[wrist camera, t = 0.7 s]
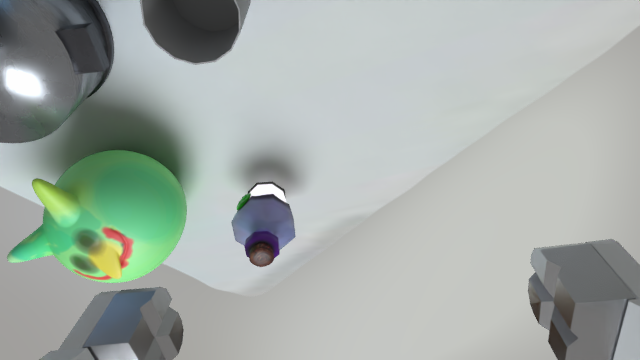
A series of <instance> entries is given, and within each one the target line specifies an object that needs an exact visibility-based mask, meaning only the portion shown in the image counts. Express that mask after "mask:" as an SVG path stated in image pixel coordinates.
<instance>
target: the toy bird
mask: <svg viewBox="0 0 640 360" xmlns="http://www.w3.org/2000/svg"><path fill="white" fill-rule="evenodd" d="M32 186H33V189H34V191H35V193H36V194H37V196H38V197H39V199H40V200H41V202H42V203H43V204H44V206H45V209H44V214H43V224H42V225H41V226H40V227H39V228H38V229H37V230H36V231H34V232H33V233H32V234H30V235H29V236H28V237H27V238H25V239H24V240H23V241H22V242H20V243H19V244H18V245H17V246H16V247H14V248H13V250H11V251H10V253H9V254H8V256H7V259H8V261H9V262H11V263H17V262H23V261H27V260H32V259H36V258H40V257H44V256H49V255H54V256H55V257H56V258H57V259H58V260H59V261H60V262H61V263H62V264H63V265H64V266H65V267H66V268H68V269H69V270H71V271H72V272H74V273H75V274H77V275H79V276H82V277H84V278H87V279H90V280H94V281H99V282H107V283H118V282H125V281H130V280H134V279H136V278H139V277H141V276H144V275H146V274H147V273H149V272H150V271H152V270H154V269H155V268H156V267H158V266H159V265H160V264H161V263H162V262H163V261H164V260H165V259H166V258H167V257H168V256H169V255H170V254H171V252H172V251H173V250H174V248H175V246H176V245H177V243H178V241H179V239H180V237H181V235H182V232H183V229H184V226H185V222H186V214H187V206H186V199H185V195H184V192H183V189H182V187H181V185H180V183H179V182H178V180H177V179H176V178H175V176H174V175H173V174H172V173H171V172H170V171H169V170H168V169H167V168H166V167H165V166H164V165H162V164H161V163H159V162H158V161H156V160H155V159H153V158H151V157H148V156H146V155H143V154H140V153H137V152H132V151H126V150H109V151H102V152H98V153H95V154H92V155H89V156H87V157H85V158H83V159H81V160H80V161H78V162H76V163H75V164H74V165H72V166H71V167H70V168H69V169H68V170H67V171H66V172H65V173H64V174H63V175H62V176H61V177H60V178H59V180H58V181H57V182H56V184H55V185H53V184H51V183H49V182H47V181H44V180H42V179H34V180H33V181H32Z"/></svg>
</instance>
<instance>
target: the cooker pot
mask: <svg viewBox="0 0 640 360" xmlns="http://www.w3.org/2000/svg"><path fill="white" fill-rule="evenodd" d="M113 59H114V43H113V38H112V33H111V30H110V27H109V24H108V21H107V19H106V17H105V15H104V13H103V11H102V9H101V8H100V6H99V4H98V2H97V1H96V0H0V142H1V143H24V142H30V141H34V140H38V139H41V138H43V137H45V136H47V135H49V134H51V133H52V132H54V131H55V130H57V129H58V128H59V127H60V126H61V125H62V123H63V122H64V121H65V120H66V119H67V118H68V117H69V116H70V115H71V114H72V113H73V112H74V111H75V109H76V108H77V107H78V106H79V105H80V104H81V103H82V102H83V101H84V100H85V99H86V98H88V97H90V96H91V95H92V94H94V93H95V92H96V91H97V90H98V89H99V88H100V87H101V86H102V85H103V83H104V82H105V80H106V79H107V77H108V76H109V73H110V71H111V68H112V64H113Z"/></svg>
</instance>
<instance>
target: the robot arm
mask: <svg viewBox="0 0 640 360" xmlns="http://www.w3.org/2000/svg"><path fill="white" fill-rule="evenodd" d="M531 265H532V267H533V268H534V270H535V273H534V274H533V275H532V276H531V278H530V279H529V286H528V293H529V299H530V305H531V307H532V310H533V313H534V315H535V317H536V319H537V321H538V323H539V324H540V325H542V326H543V327H544V328H546V329H548V330H549V339H548V342H549V344H550V346H551V348H552V350H553V352H554V354H555V355H556V357H557V359H558V360H640V265H639V264H638V263H637V262H636V261H635V260H634V258H633V257H631V255H630V254H629V253H628V252H627V251H626V250H625V249H624V248H623V247H622V246H621V245H620V244H619V243H618V242H617V241H615V240H613V239H608V240H600V241H592V242H586V243H578V244H569V245H560V246H551V247H542V248H534V250H533V252H532V255H531ZM171 300H172V298H171V296H170V295H169V293H168V291H167V289H166V288H162V287H155V288H142V289H130V290H121V291H110V292H101V293H99V294H98V295H96V296H95V297H94V298H93V300H92V301H91V303H90V304H89V306H88V307H87V309H86V310H85V312H84V313H83V314H82V316H81V317H80V319H79V320H78V322H77V323H76V324H75V326H74V327H73V329H72V330H71V332H70V333H69V335H68V336H67V338H66V339H65V340H64V342H63V344H62V345H61V346H60V348H59V349H58V350H56V351H50V352H49V353H48V354H46V355H45V356H43V357H42V358H41V359H39V360H172V359H174V358H175V357H176V356H177V355H178V353H179V350H180V348H181V345H182V340H183V325H182V320H181V318H180V316H179V313H178V312H176V311H175V310H173V309H172V308H170V307H169V305H170V302H171Z"/></svg>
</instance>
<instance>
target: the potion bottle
mask: <svg viewBox="0 0 640 360" xmlns="http://www.w3.org/2000/svg"><path fill="white" fill-rule="evenodd" d="M237 210H238V211H237V213H236V215H235V216H234V218H233V220H232V227H233V231H234V236H235V240H236V241H237V242H239V243H241V244H243V245H244V246H245V251H246V255H247V257H249V258H250V262H251V263H252V264H254V265H256V266H260V267H263V266H267V265H269V264H271V263H272V262H273V260H274V258H275V257H276V256H278V255H279V250H280V249H282V248H283V247H284V246H285V245H286V244H288V243H289V242H290V241H291V240H292V239H293V238H295V229H294V219H293V215H292V212H291V209H290V206H289V204H287V202H286V199H285V191H284V189H282V188H281V187H279V186H278V185H276V184H275V183H273V182H262V183H256V184H255V185H254V186H253V187H252V188H251V189H250V190H249V191H248V194H246V195H245V196H244V197H242V199H241V200H240V201H239V203H238V205H237Z"/></svg>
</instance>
